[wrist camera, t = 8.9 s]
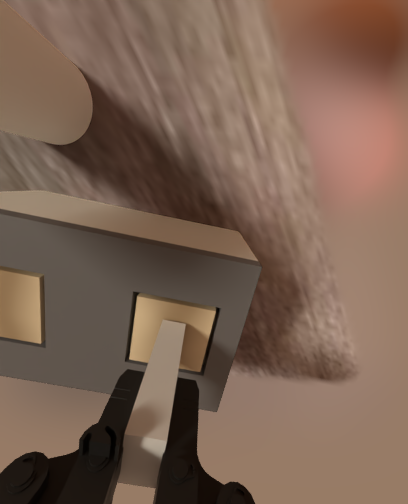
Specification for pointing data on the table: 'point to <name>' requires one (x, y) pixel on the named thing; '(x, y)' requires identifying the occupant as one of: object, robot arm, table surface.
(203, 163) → the table surface
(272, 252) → the table surface
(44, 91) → the cylindrical container
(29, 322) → the peg
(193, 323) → the peg
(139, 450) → the robot arm
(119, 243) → the plinth
